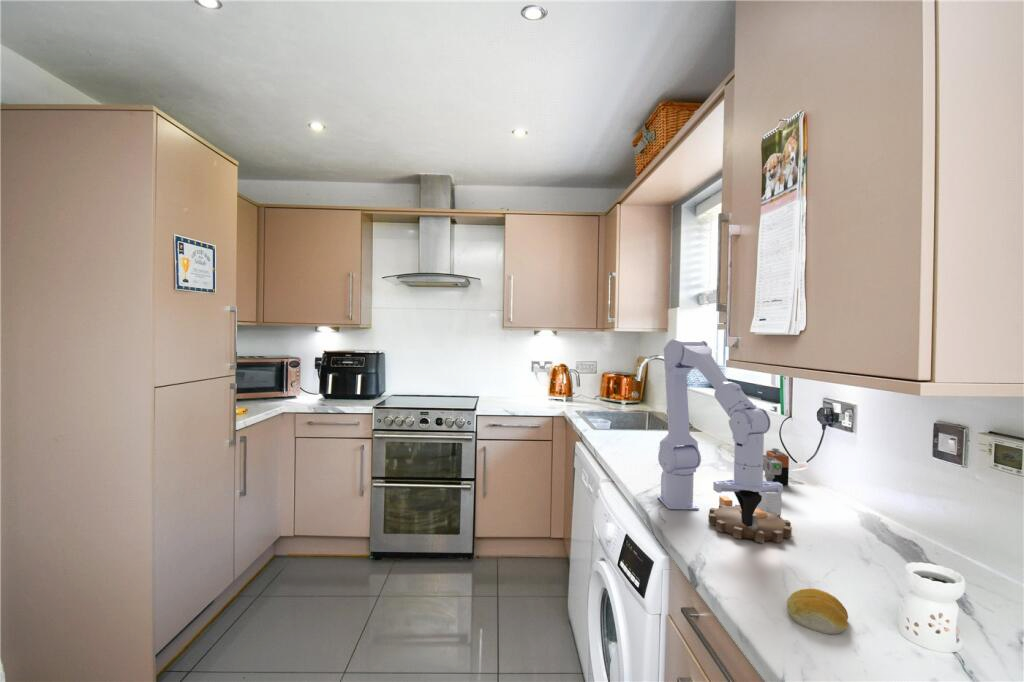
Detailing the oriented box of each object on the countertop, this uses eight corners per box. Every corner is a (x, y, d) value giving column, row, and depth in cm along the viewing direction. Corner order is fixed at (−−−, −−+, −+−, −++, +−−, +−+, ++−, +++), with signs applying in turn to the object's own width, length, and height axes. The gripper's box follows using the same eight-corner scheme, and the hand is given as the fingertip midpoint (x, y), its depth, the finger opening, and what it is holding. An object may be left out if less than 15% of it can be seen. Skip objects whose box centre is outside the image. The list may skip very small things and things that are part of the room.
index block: (719, 507, 124) (719, 496, 124) (726, 507, 124) (726, 496, 124) (724, 512, 121) (724, 500, 121) (732, 512, 121) (732, 500, 121)
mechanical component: (766, 487, 142) (767, 454, 141) (782, 499, 131) (783, 463, 131) (756, 487, 142) (757, 453, 142) (771, 498, 132) (772, 463, 131)
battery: (780, 479, 150) (780, 448, 150) (788, 486, 143) (789, 453, 143) (765, 478, 150) (765, 447, 150) (773, 485, 144) (774, 452, 144)
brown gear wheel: (696, 512, 119) (696, 493, 119) (762, 512, 120) (762, 492, 120) (732, 543, 102) (732, 520, 102) (808, 542, 103) (809, 519, 103)
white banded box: (753, 508, 124) (754, 484, 124) (767, 508, 124) (768, 484, 124) (766, 517, 118) (766, 492, 118) (781, 517, 118) (781, 492, 118)
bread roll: (847, 614, 77) (848, 590, 77) (847, 643, 70) (848, 616, 70) (789, 597, 82) (790, 574, 82) (783, 622, 75) (784, 597, 75)
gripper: (724, 467, 101) (722, 531, 101) (792, 468, 101) (790, 532, 101) (709, 459, 108) (708, 518, 108) (773, 459, 108) (771, 519, 108)
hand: (747, 524), depth 105 cm, fingers closed, pressing on brown gear wheel
